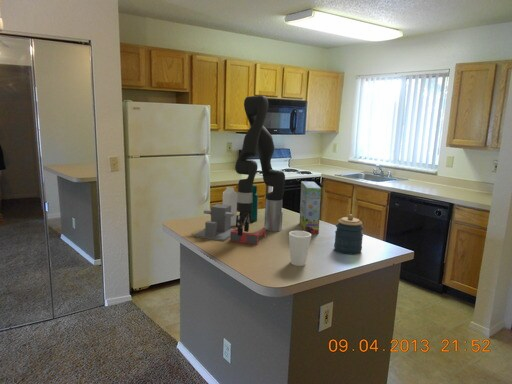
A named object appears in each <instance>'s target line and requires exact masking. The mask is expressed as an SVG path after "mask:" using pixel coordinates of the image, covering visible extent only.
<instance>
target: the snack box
mask: <svg viewBox="0 0 512 384" xmlns="http://www.w3.org/2000/svg"><path fill="white" fill-rule="evenodd" d="M321 197H322V188H321V186H320V185H318V184H317V183H316V182H315V181H306V180H304V181H303V180H302V181H301V182H300V205H299V225H300V226H301V229H302V231H305V232H309V233H310V234H311V235H314V234H315V235H319V233H320V232H319V231H320V218H321V217H320V215H321V201H322V200H321V199H322V198H321Z"/></svg>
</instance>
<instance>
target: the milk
mask: <svg viewBox="0 0 512 384" xmlns="http://www.w3.org/2000/svg"><path fill="white" fill-rule="evenodd" d="M237 195H238V191H237V192H236V191H235V187H232V186H226V189H225V190H224V191H223V192H222V204H223V205H231V213H234V216H233V217H231V227H234V226H235V227H236V216H237V215H238V211H237Z"/></svg>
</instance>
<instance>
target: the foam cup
mask: <svg viewBox="0 0 512 384" xmlns="http://www.w3.org/2000/svg"><path fill="white" fill-rule="evenodd" d="M288 241H289V254H290V257H289V258H290V264H292V265H293V266H297V267H299V266H300V267H302V266H306V263H307V259H308V258H307V257H308V254H309V248H310V243H311V241H312V234H310V233H309V232H305V231H303V230H291V231H289V233H288Z"/></svg>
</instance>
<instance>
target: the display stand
mask: <svg viewBox="0 0 512 384" xmlns="http://www.w3.org/2000/svg"><path fill="white" fill-rule="evenodd" d="M203 214H206V215H210V220H207V221H206V222H205V224H204V225H205V226H204V227H205V228H203V229H200V230H199V231H198V232H196V233H194V234H193V237H194V238H202V239H207V240H213V241H221V242H225V241H227V240H228V239H230V233H231V231H232V230H234V229H235V228H232V226H231V217H233V216H234V213H231V205H223V204H221V203H216V204H214V205H212V206H210V209H204V210H203Z"/></svg>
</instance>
